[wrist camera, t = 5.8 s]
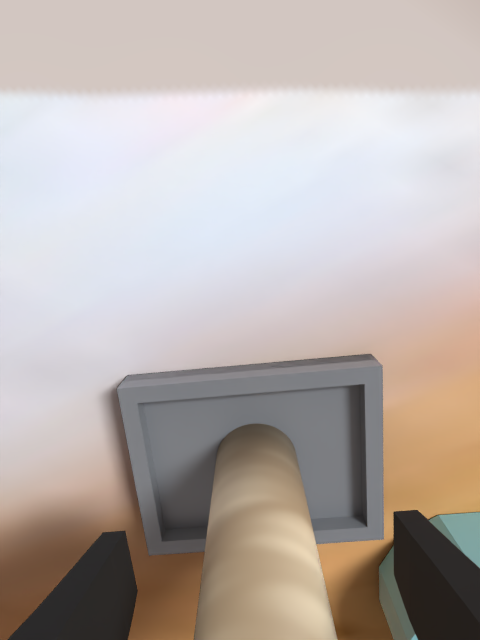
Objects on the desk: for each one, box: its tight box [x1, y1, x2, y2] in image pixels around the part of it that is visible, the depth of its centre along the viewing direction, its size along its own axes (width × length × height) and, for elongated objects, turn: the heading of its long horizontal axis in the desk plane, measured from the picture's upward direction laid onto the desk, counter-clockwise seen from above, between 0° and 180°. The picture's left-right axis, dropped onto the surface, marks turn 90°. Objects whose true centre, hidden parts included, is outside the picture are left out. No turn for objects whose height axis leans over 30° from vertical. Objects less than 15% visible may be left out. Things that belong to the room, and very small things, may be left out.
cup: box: [379, 512, 480, 640], centre depth 15 cm, size 7×7×3 cm
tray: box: [117, 354, 384, 556], centre depth 14 cm, size 9×7×1 cm
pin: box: [194, 424, 337, 640], centre depth 10 cm, size 3×3×8 cm
